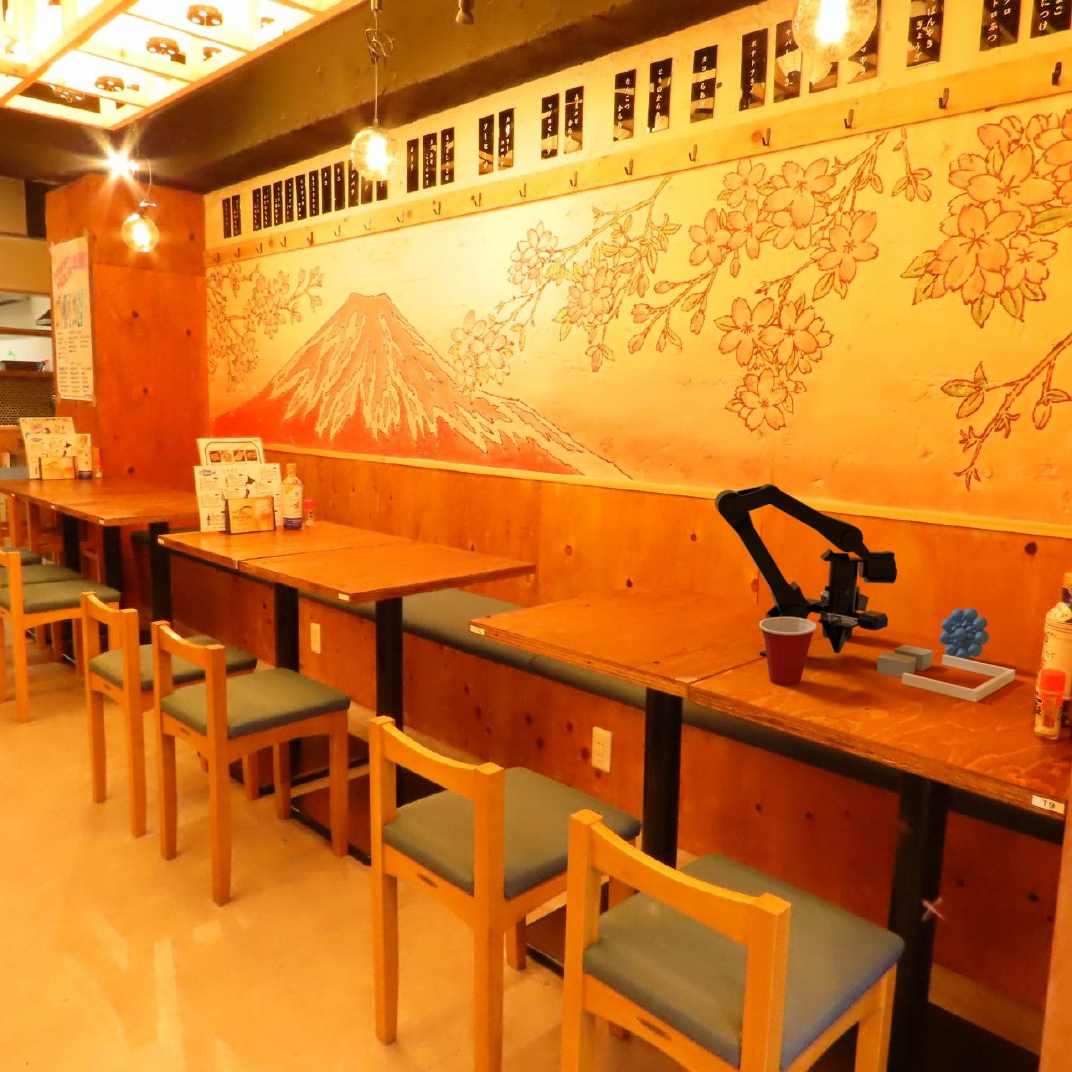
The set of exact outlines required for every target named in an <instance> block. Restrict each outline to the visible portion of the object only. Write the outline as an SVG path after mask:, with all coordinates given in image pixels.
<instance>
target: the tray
mask: <svg viewBox="0 0 1072 1072" xmlns="http://www.w3.org/2000/svg"><path fill="white" fill-rule="evenodd" d="M941 665H942V666H947V667H950V668H955V669H959V670H964V671H967V672H972V673H977V674H981V675H986V676H989V677H993V678H991V679H990V680H988V681H985V682H984V683H982V684H981V685H978V686H977V687H975V688H970V687H969V688H968V687H964V686H961V685H957V684H952V683H948V682H944V681H940V680H936V679H932V678H928V677H925V676H920V675H915V674H913V675H912V674H908V673H903V675H902V678H901V684H903V685H906V686H911V687H915V688H918V689H921V690H926V691H931V692H934V693H938V694H942V695H946V696H950V697H955V698H958V699H960V700H966V701H969V702H973V703H977V702H978V701H980V700H982V699H984V698H985V697H987V696H989V695H991V694H993V693H994V692H996V691H997V690H999V689H1001V688H1002V687H1003V688H1004V686H1005V685H1007V684H1010V683H1011V682H1013V681H1014V680H1015V676H1016V670H1015V669H1011V668H1008V667H1002V666H998V665H994V664H989V663H983V662H980V661H975V660H971V659H968V660H967V659H962V658H958V657H956V656H949V655H947V654H942V657H941Z"/></svg>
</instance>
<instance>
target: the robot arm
mask: <svg viewBox="0 0 1072 1072" xmlns="http://www.w3.org/2000/svg"><path fill="white" fill-rule="evenodd" d="M769 505H771V506H773V507H775V508H776V509H778V510H780V511H782V512H784V513H785V514H786V515H787V514H788V515H789V516H791V517H792V518H795V519H796V520H798V521H800V522H801V523H803V524H805V525H806V526H808V527H810V528H811V529H813V530H815V532H817V533H819V534H820V536H822V537H823V538H824V539H826V540H827V541H828V542H829V543H830V544H832V545H833V546H835V548H837V549H839V550H840V552H834V551H833V550H832V549H831V548H827V550H826V551H825V552H824V553H822V554H820V555H819V557H820V559H821V560H823V561H824V562H829V571H828V583H827V585H825V586H824V591H828V595H827V604H826V605H824V603H823V601H821V599H814V598H810V597H809V598H806V597H805V596H804V594H803V591H802V589H801V587H800V586H799V584H797V582H796V581H794V580H793V581H792V582H791V583H789V582H787V580H786V579H785V577H784V575H783V573H782V572H781V570H780V568H779V567H778V564H776V562H775V560H774V559H773V557H772V555H771V553H770V552H769V550H768V548H767V547H766V545H765V544H764V541H763V540H762V539H761V537H760V534H758V532H757V530H756V528H755V526H754V523H753V521H752V516H751V513H750V511H754V510H757V509H760V508H763V507H765V506H769ZM714 507H715V509H716V511H717V512H718V513H719V515H720V516H721V517H722V518H723V519H724V520H725V521H726V522H727V524H728V525H729V526H730V527H731V529H733V530H734V532H735V533H736V534H737V535H738V537H739V539H740V540H741V542H742V543H743V545H744V547H745V549H746V550H747V553H748V554H749V556H750V557H751V559H752V560H753V562H754V563H755V566H756V568H757V569H758V570H759V572H760V574H761V576H762V577H763V579H764V581H765V582H766V584H767V586H768V588H769V591H770V593H771V597H772V601H773V603H774V605H773V607H772V608H770V609H768V611H767V612H765V613H764V614H765V618H766V619H768V618H774V617H796V618H803V619H807V620H808V618H809V615H810V614H811V613H813V614H819V615H820V616H819V619H818V620H817V623H820V624H821V626H822V625H823V627H824V629H825V631H826V633H827V635H828V638H827V639H829V643H830V645H831V647H832V650H833V653H836V654H839V653H841V651H842V649H843V647H844V645H845V642H846V641H847V640H846V639H847V637H848V635H849V633H850V632H851V630H852V629H853V630H854V628H856V627H859V628H860V629H863V630H869V631H878V630H881V629H884V628H887V627H888V626H889V625H888V624H889V622H888V621H889V618H888V616H887V614H886V613H885V612H880V611H875V610H870V609H869V610H867V607H868V604H869V600H870V597H868V596H867V595H864V594H862V593H861V591H860V590H861V589H860V586H858V585H857V584H858V583H857V582H858V577H859V578H860V579H862V580H863V582H864V583H867V584H894V583H895V582H896V580H897V575H898V569H897V563H896V559H895V552H893V551H890V550H886V551H870V550H869V549H868V547H867V546H866V545H865V543H864V535H863V532H862V530H861V529H860V528H858V527H857V526H855V525H854V524H851V523H850V522H847V521H844V520H842V519H839V518H836V517H833V516H830V515H826V514H825V513H824V514H823V513H821V511H820V512H819V511H818V510H816V509H815V508H813V507H811V506H809V505H808V504H805V503H804V502H802V501H800V500H799V499H797V498H795V497H793V496H792V495H790V494H788V493H786V492H784V491H783V490H781V489H780V488H779V487H777V486H776V485H774V484H772V483H765V484H763V485H760V486H759V485H758V486H755V487H750V488H744V489H741V490H737V491H735V490H733V489H725V490H722V491H720V492H718V494H717V495H716V497H715V500H714ZM848 553H849V554H850V553H853V554H855V555H856V556H858V557H856V556H855V557H854V556H850V555H849V554H848ZM855 610H856V612H855ZM857 611H861V612H857ZM833 612H836V613H833ZM843 614H846V615H843ZM759 655H761V656H764V657H767V656H766V649H764V650H762V651H760V652H759Z"/></svg>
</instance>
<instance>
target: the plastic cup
mask: <svg viewBox="0 0 1072 1072" xmlns="http://www.w3.org/2000/svg"><path fill="white" fill-rule="evenodd" d="M758 623H759V624H758V625H759V628H760V629H761V631H762V634H763V638H764V646H765V650H766V656H765V657H766V663H767V669H768V678H769V681H770V682H771V683H773V684H774V685H775V684H776V685H778V686H785V687H793V686H798V685H799V684H800V683H801V680H802V677H803V673H804V668H805V667H806V664H807V663H806V662H807V658H808V655H809V649H810V645H811V642H812V640H813V639H812V638H813V636H814V632H815V630H816V629H817V624H816V622H814V621H812V620H810V619H808V618H807V619H803V618H796V617H774V618H768V619H763V620H761V621H759V622H758Z"/></svg>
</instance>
